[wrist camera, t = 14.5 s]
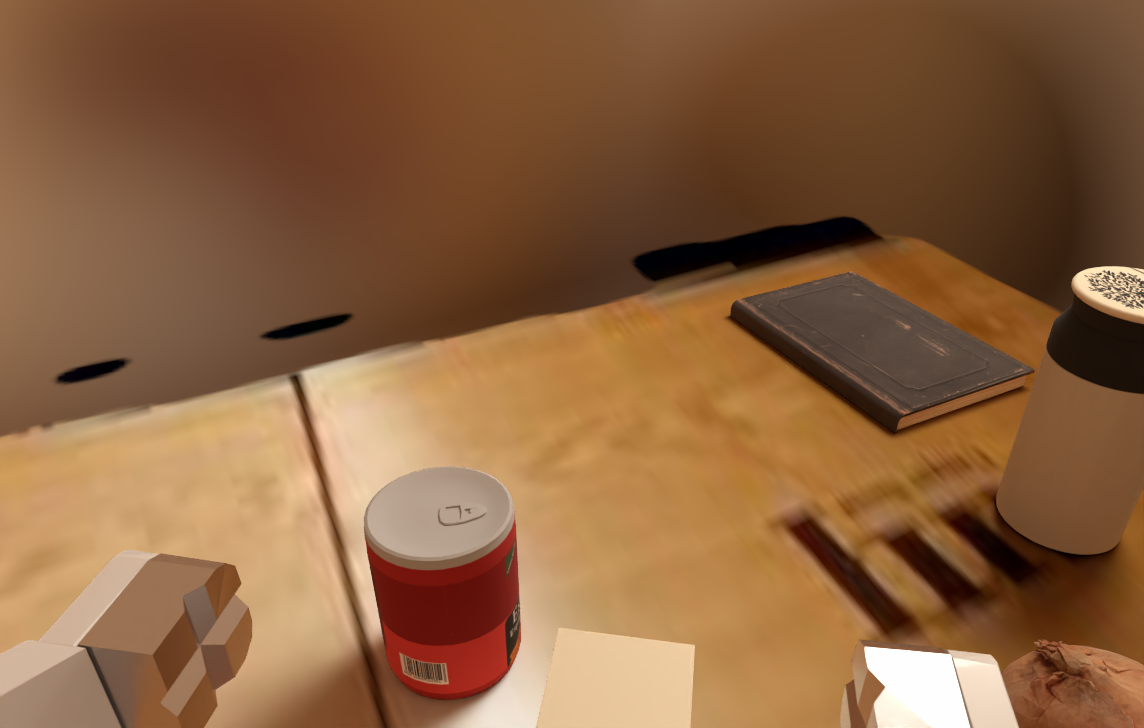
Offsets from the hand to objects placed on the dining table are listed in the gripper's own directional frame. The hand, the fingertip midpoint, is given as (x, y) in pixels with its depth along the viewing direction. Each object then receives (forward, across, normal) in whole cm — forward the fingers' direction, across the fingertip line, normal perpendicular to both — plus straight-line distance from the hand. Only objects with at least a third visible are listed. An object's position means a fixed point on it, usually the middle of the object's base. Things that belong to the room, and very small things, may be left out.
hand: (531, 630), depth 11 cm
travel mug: (+43, +28, -32) cm, 61 cm away
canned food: (+25, -11, -32) cm, 42 cm away
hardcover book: (+66, +18, -33) cm, 76 cm away
